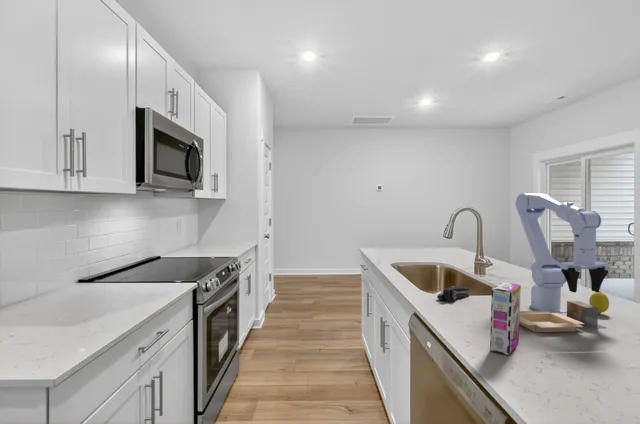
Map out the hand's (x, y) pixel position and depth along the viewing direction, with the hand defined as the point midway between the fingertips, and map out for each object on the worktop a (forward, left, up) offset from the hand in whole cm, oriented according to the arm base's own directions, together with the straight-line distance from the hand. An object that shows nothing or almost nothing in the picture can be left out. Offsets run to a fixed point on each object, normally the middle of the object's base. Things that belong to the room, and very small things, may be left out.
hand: (584, 291), depth 118 cm
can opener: (-34, -27, -11) cm, 44 cm away
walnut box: (0, -1, -10) cm, 10 cm away
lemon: (-10, +14, -11) cm, 21 cm away
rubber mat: (0, -1, -10) cm, 10 cm away
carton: (+1, -15, -10) cm, 18 cm away
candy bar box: (+17, -37, -11) cm, 42 cm away
